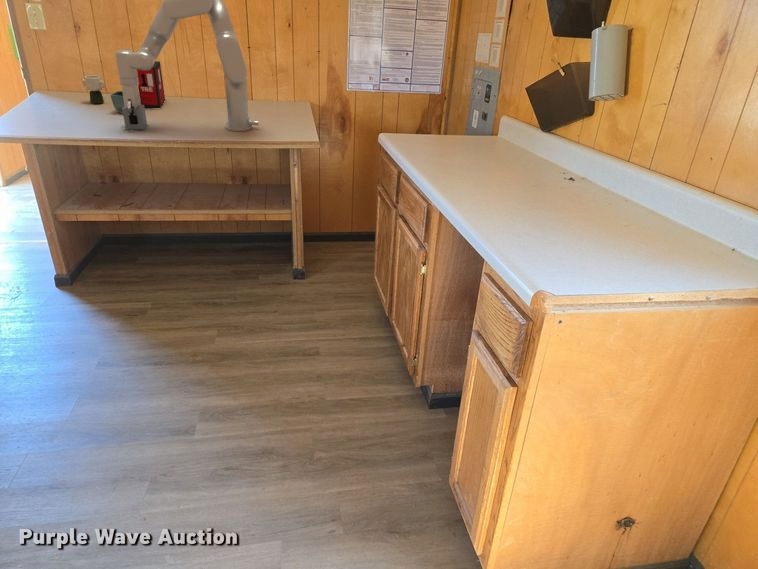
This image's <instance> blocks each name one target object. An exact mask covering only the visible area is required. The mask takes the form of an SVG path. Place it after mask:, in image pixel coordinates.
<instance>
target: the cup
mask: <svg viewBox="0 0 758 569" xmlns="http://www.w3.org/2000/svg"><path fill="white" fill-rule="evenodd" d="M131 108H134V107H131ZM122 111H123V113H122V116H123V122H124V125H125V126H124V127H125V128H126V129H145V127H146V126H147V125H148V120H147V115H146V108H145V107H144V105H141V104H140V105H139V106H138V108H137V109H135V112H136V115H137V121H138V124H130V120H129V115H128V108H127V109H125V107H123V108H122ZM133 112H134V110H133Z"/></svg>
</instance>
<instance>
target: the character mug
mask: <svg viewBox="0 0 758 569" xmlns="http://www.w3.org/2000/svg"><path fill="white" fill-rule="evenodd" d="M82 85H83V87H86V89H87V90H88V91H89V100H90V103H91V104H102V103H104V102H105V100H104V96H103V93H102V92H101V91H102V89H105V88H106V84H105V81H104V80H101V76H99V75H96V74H88V75H85V76H84V78H83V79H82Z"/></svg>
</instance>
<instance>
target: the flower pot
mask: <svg viewBox="0 0 758 569" xmlns="http://www.w3.org/2000/svg"><path fill="white" fill-rule="evenodd" d="M110 99H111V102H112V105H113V107H114V108H115V110H116V111H117V112H118V113H120V114H123V111H122V108H123V107H124V99H123V90H121V91H120V90H117V91H115V92H114V93H111V94H110Z"/></svg>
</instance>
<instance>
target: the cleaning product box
mask: <svg viewBox="0 0 758 569" xmlns="http://www.w3.org/2000/svg"><path fill="white" fill-rule="evenodd" d="M161 66H162V65H161V61H157V60H156V61H155V63H154V65H153V67H152V68H151V69H150V70H139V69H137V74H138V80H139V85H137V87H138V92H139V98H140V105H144V107H145V109H148V108H160V109H161V108H162V107H163V105H164V104H165V102H166V95H165V89H164V81H163V75H162V74H163V73H162V68H161ZM164 101H165V102H164ZM163 103H164V104H163ZM161 106H162V107H161Z"/></svg>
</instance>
